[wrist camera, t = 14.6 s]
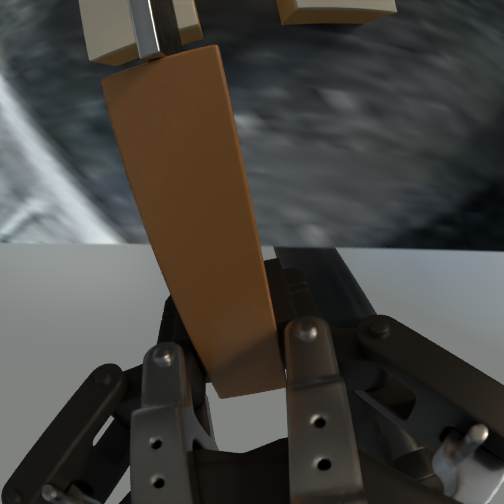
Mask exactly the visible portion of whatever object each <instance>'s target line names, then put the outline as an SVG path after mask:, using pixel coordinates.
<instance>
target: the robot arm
mask: <svg viewBox="0 0 504 504" xmlns="http://www.w3.org/2000/svg"><path fill="white" fill-rule="evenodd" d="M264 266H265V271H266V276H267V281H268V286H269V291H270V296H271V301H272V306H273V311H274V317H275V322H276V327H277V332H278V337H279V342H280V348H281V353H282V358H283V363H284V368H285V369H286V372H287V384H286V404H287V425H288V437H287V438H282V439H278V440H276V441H274V442H271V443H269V444H266V445H264V446H261V447H259V448H256V449H254V450H251V451H249V452H245V453H232V452H224V451H219V450H218V447H217V445H216V442H215V438H214V432H213V426H212V420H211V414H210V408H209V402H208V397H207V395H206V393H205V392H206V387H205V386H206V383H210V382H211V381H210V379H209V377H208V375H207V373H206V371H205V369H204V367H203V364H202V362H201V360H200V358H199V356H198V354H197V352H196V350H195V348H194V346H193V344H192V341H191V339H190V337H189V335H188V333H187V331H186V328H185V326H184V324H183V322H182V319H181V317H180V315H179V313H178V310H177V308H176V306H175V303H174V301H173V299H172V296H171V294H170V296H169V297H168V299H167V300H166V301H165V306H164V312H163V315H162V321H161V325H160V330H159V336H158V341H157V345H155V346H153V347H152V348H150V349H149V350H148V352H147V353H146V354H145V356H144V359H143V364H141V365H139V366H136V367H134V368H131V369H129V370H126V371H122V370H121V368H120V367H119V366H118V365H116V364H104V365H102V366H99V367H98V368H96V369H95V370H94V371H93V372H92V373H91V374H90V375H89V376H88V378H87V379H86V380H85V381H84V383H83V384H82V385H81V386H80V388H79V389H78V390H77V391H76V392H75V394H74V395H73V396H72V397H71V399H70V400H69V401H68V402H67V404H66V405H65V406H64V407H63V409H62V410H61V411H60V412H59V414H58V415H57V416H56V417H55V419H54V420H53V421H52V423H51V424H50V425H49V426H48V428H47V429H46V430H45V432H44V433H43V434H42V435H41V437H40V438H39V440H38V441H37V442H36V443H35V445H34V446H33V447H32V449H31V450H30V451H29V452H28V454H27V455H26V457H25V458H24V459H23V461H22V462H21V463H20V465H19V466H18V467H17V469H16V470H15V472H14V473H13V475H12V476H11V477H10V478H9V480H8V481H7V483H6V484H5V486H4V488H3V490H2V497H1V498H2V504H104V503H105V502H106V500H107V499H108V497H109V496H110V494H111V493H112V491H113V489H114V488H115V487H116V485H117V484H118V482H119V480H120V479H121V478H122V476H123V475H124V473H125V472H126V470H127V468H128V467H129V465H130V481H131V491H130V492H129V493H128V494H127V495H126V496H125V497H124V499H123V500H122V501H121V502H120V503H119V504H489V502H490V501H491V499H492V498H493V496H494V495H495V494H496V492H497V491H498V489H499V488H500V486H501V485H502V483H503V482H504V385H502V384H501V383H499V382H498V381H496V380H494V379H492V378H491V377H490V376H487V375H486V374H484V373H483V372H481V371H480V370H478V369H476V368H475V367H473V366H471V365H470V364H468V363H467V362H465V361H463V360H462V359H460V358H458V357H457V356H455V355H453V354H452V353H450V352H449V351H447V350H445V349H444V348H442V347H440V346H438V345H437V344H435V343H434V342H432V341H430V340H428V339H427V338H425V337H424V336H422V335H420V334H419V333H417V332H415V331H414V330H412V329H410V328H409V327H407V326H405V325H404V324H402V323H400V322H398V321H397V320H395V319H393V318H391V317H389V316H386V315H372V316H369V317H366V318H365V319H363V320H362V321H361V322H360V323H359V324H358V326H357V328H338V327H334V326H331V325H329V324H328V323H327V322H326V321H325V320H324V319H322V318H321V316H320V314H319V312H318V309H317V307H316V304H315V302H314V299H313V297H312V294H311V292H310V291H309V287H308V285H307V283H306V280H305V278H304V275H303V273H301V272H300V271H299V270H297V269H296V268H295V267H293V268H289V269H284V270H282V267H281V263H280V260H279V258H275V259H270V260H265V261H264ZM110 415H111V416H112V417H113V418H114V420H113V421H112V423H111V424H110V426H109V427H108V428H107V430H106V431H105V433H104V434H103V435H102V437H101V438H100V439H99V441H98V442H97V444H96V445H95V446H93V440H94V437H95V436H96V435H97V433H98V432H99V430H100V429H101V428H102V426H103V425H104V424H105V422H106V421H107V419H108V418H109V417H110Z"/></svg>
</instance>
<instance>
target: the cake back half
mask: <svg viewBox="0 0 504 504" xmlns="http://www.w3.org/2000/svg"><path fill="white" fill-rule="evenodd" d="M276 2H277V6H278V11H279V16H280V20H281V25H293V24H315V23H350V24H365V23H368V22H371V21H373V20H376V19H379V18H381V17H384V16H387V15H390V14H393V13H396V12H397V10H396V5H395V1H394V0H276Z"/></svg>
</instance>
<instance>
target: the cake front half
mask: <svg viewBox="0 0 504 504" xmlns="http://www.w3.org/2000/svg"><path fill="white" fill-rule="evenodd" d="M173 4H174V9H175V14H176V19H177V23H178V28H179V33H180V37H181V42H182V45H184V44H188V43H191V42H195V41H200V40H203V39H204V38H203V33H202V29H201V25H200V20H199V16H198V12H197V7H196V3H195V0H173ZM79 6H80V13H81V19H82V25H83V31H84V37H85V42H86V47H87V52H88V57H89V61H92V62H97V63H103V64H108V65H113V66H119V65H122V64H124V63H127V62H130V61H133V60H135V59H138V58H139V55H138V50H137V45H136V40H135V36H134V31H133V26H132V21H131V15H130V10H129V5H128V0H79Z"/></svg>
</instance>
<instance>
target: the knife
mask: <svg viewBox="0 0 504 504" xmlns="http://www.w3.org/2000/svg"><path fill="white" fill-rule="evenodd" d="M128 5H129V10H130V15H131V21H132V26H133V31H134V36H135V40H136V45H137V50H138V55H139V58H140V59H141V60H144V61H147V63H144V64H141V65H138V66H135V67H132V68H129V69H126V70H123V71H121V72H118V73H115V74H113V75H110V76H108V77H105V78H104V79H102V80H101V84H102V88H103V93H104V97H105V101H106V105H107V109H108V113H109V116H110V120H111V124H112V128H113V131H114V135H115V138H116V142H117V145H118V149H119V152H120V155H121V159H122V162H123V165H124V168H125V172H126V175H127V178H128V181H129V184H130V187H131V190H132V193H133V196H134V199H135V202H136V205H137V208H138V211H139V214H140V217H141V219H142V222H143V225H144V228H145V230H146V233H147V236H148V239H149V241H150V244H151V247H152V249H153V252H154V254H155V257H156V260H157V262H158V265H159V267H160V270H161V272H162V275H163V277H164V279H165V282H166V284H167V287H168V289H169V292H170V294H171V296H172V299H173V301H174V303H175V306H176V308H177V310H178V313H179V315H180V317H181V319H182V322H183V324H184V326H185V328H186V331H187V333H188V335H189V337H190V339H191V341H192V344H193V346H194V348H195V350H196V352H197V354H198V356H199V358H200V360H201V362H202V364H203V367H204V369H205V371H206V373H207V375H208V377H209V379H210V381H211V383H212V385H213V387H214V388H215V390H216V392H217V394H218V396H219V398H221V399H223V398H230V397H237V396H243V395H249V394H254V393H260V392H265V391H270V390H276V389H281V388H285V387H286V384H287V379H286V374H285V368H284V363H283V358H282V353H281V348H280V342H279V337H278V332H277V327H276V322H275V317H274V311H273V306H272V301H271V296H270V291H269V286H268V281H267V276H266V271H265V266H264V261H263V256H262V251H261V246H260V241H259V236H258V231H257V226H256V221H255V216H254V211H253V206H252V201H251V197H250V192H249V187H248V182H247V177H246V172H245V167H244V163H243V158H242V153H241V148H240V143H239V139H238V134H237V129H236V124H235V120H234V115H233V110H232V105H231V101H230V96H229V91H228V87H227V82H226V77H225V73H224V68H223V64H222V59H221V54H220V50H219V47H218V46H217V45H210V46H205V47H201V48H197V49H193V50H188V51H185V52H184V51H183V46H182V42H181V37H180V33H179V28H178V23H177V19H176V14H175V9H174V4H173V0H128Z"/></svg>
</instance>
